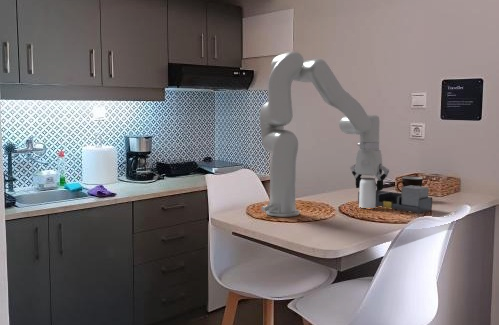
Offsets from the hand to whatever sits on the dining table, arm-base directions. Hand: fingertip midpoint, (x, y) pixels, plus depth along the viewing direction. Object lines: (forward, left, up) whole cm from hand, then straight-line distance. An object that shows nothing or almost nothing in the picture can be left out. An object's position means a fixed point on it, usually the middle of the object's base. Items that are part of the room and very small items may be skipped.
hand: (369, 188), depth 200 cm
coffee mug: (+28, -2, -8) cm, 30 cm away
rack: (+9, -6, -8) cm, 14 cm away
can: (-1, 0, -8) cm, 8 cm away
